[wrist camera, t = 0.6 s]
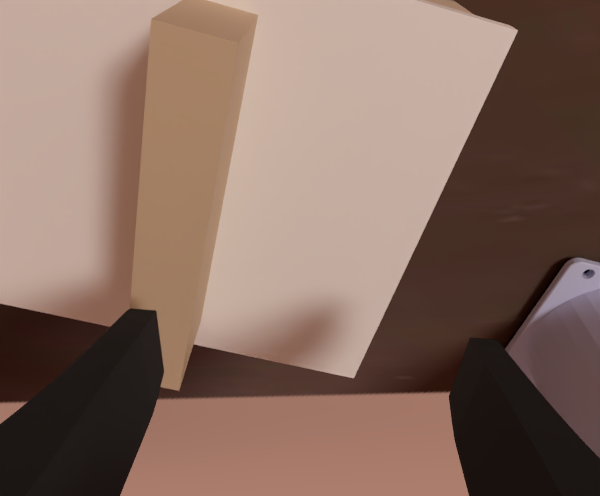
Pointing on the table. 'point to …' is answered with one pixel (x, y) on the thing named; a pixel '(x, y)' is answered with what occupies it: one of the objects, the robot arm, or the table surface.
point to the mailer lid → (231, 163)
